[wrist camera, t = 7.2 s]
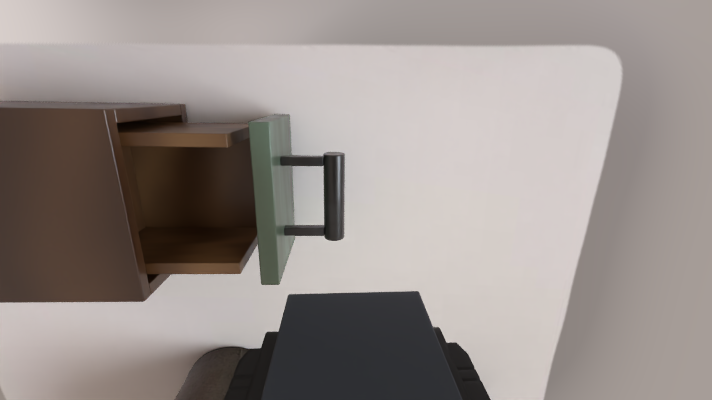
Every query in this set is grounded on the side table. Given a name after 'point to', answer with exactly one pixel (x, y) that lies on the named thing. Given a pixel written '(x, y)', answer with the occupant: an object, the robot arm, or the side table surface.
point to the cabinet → (71, 203)
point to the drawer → (222, 194)
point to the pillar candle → (211, 375)
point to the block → (358, 350)
